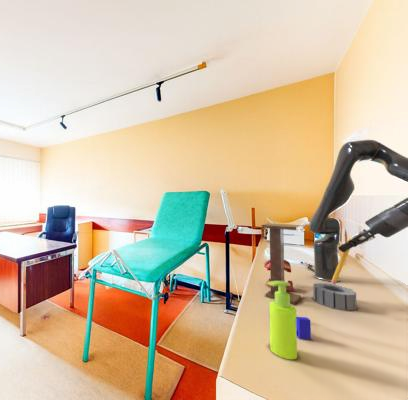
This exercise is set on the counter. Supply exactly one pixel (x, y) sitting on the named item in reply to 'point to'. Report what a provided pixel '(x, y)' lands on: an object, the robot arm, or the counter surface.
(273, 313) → the soap dispenser
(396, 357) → the counter surface
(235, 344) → the counter surface
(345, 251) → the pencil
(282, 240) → the brown pedestal stand
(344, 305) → the grey segmented ring
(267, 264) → the anatomical model
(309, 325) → the cable clip
